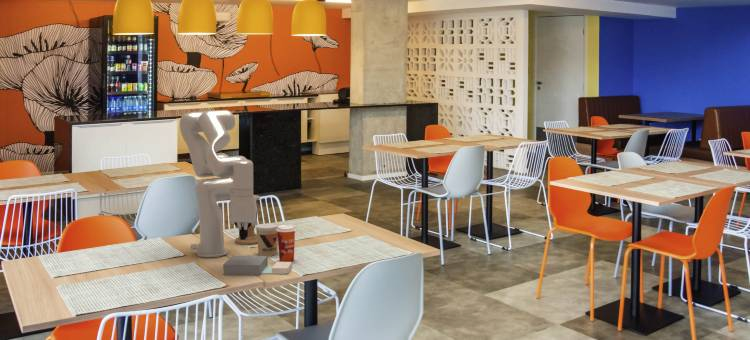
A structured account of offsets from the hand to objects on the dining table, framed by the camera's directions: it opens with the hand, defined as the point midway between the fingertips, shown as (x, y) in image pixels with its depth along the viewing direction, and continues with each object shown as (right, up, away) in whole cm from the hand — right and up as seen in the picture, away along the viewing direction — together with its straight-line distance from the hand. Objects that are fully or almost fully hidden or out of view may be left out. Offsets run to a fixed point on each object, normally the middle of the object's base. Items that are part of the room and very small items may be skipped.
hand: (243, 238), depth 295 cm
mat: (+12, -12, 0) cm, 17 cm away
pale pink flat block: (+15, -10, -1) cm, 18 cm away
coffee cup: (+6, -9, +25) cm, 27 cm away
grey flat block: (+1, -12, +1) cm, 12 cm away
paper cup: (+15, -10, +14) cm, 23 cm away
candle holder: (-5, -6, +46) cm, 46 cm away
